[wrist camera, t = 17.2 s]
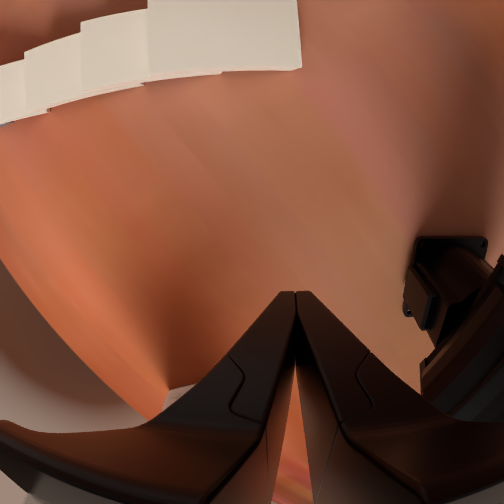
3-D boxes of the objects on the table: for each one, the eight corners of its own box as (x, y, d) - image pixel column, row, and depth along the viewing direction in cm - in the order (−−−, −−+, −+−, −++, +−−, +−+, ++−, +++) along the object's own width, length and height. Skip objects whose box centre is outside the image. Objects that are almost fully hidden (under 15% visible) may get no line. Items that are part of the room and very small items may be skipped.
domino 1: (296, -2, 13) (147, -2, 11) (302, 67, 15) (150, 74, 13) (285, 6, 15) (147, 8, 13) (290, 70, 16) (150, 78, 15)
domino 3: (136, 18, 14) (24, 52, 13) (139, 83, 16) (26, 112, 15) (141, 25, 16) (34, 55, 15) (144, 85, 17) (37, 112, 16)
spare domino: (46, 54, 15) (-46, 81, 12) (46, 112, 17) (-44, 137, 14) (50, 57, 16) (-38, 83, 13) (50, 112, 18) (-36, 135, 15)
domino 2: (220, 2, 14) (80, 21, 12) (223, 70, 15) (82, 90, 14) (216, 10, 15) (87, 28, 14) (219, 74, 17) (89, 92, 15)
